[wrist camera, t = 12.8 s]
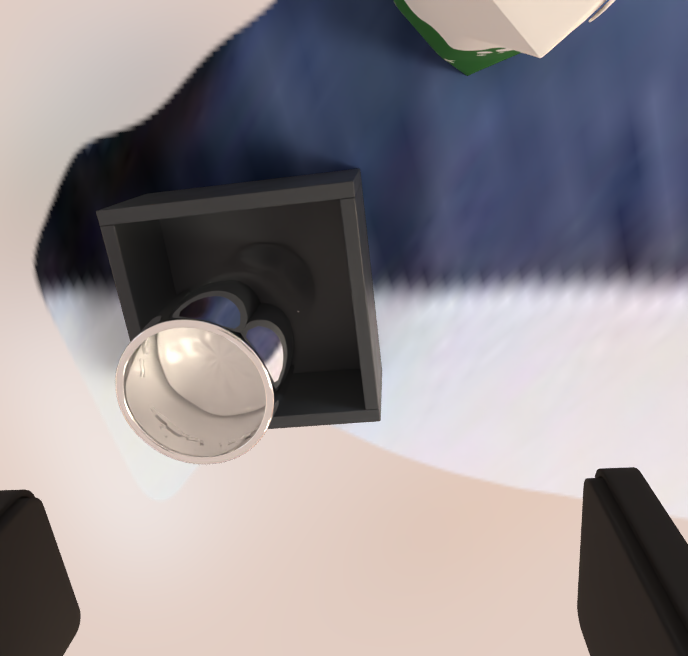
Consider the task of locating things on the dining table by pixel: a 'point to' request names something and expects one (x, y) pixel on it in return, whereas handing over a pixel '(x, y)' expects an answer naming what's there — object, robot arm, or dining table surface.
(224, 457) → the beer glass
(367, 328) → the bin
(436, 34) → the milk carton
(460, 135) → the dining table surface
